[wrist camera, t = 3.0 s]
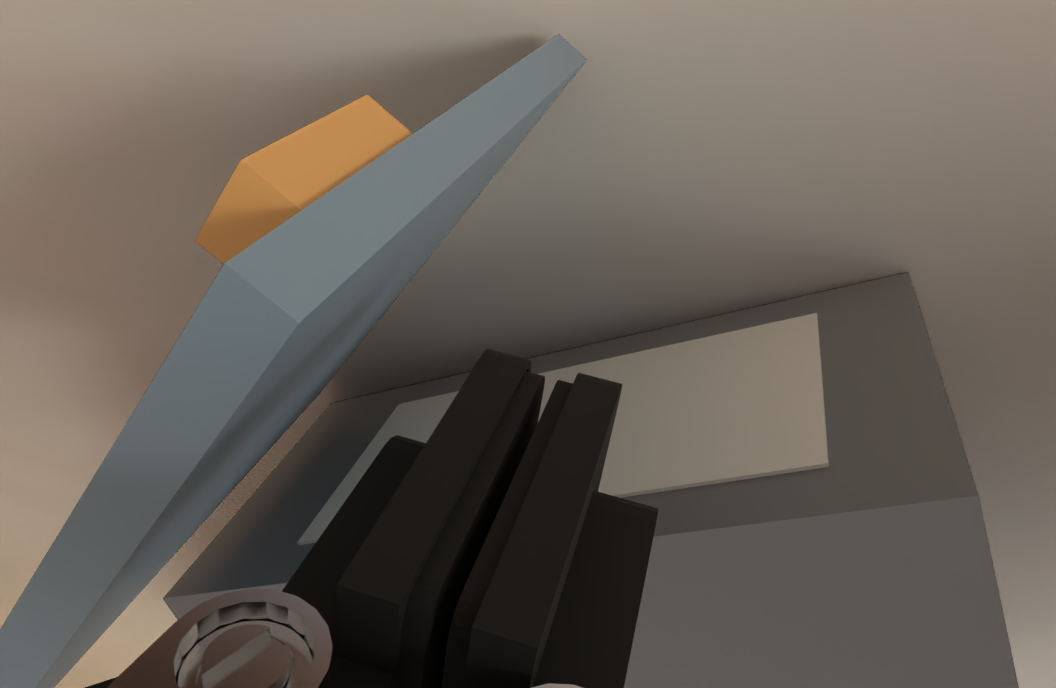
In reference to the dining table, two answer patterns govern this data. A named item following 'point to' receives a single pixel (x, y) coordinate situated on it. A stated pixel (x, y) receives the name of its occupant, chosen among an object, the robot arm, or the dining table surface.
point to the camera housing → (730, 498)
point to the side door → (268, 335)
